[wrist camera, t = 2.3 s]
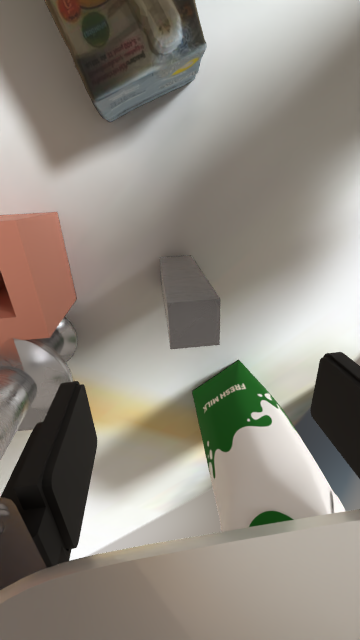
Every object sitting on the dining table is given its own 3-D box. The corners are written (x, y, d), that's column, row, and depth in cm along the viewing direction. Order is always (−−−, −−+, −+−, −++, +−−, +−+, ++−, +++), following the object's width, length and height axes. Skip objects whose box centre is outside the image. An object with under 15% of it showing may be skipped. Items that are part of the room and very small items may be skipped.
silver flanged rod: (80, 293, 27) (-2, 412, 12) (97, 369, 30) (49, 527, 16) (-15, 301, 26) (-223, 435, 11) (14, 377, 30) (-114, 550, 15)
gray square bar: (190, 255, 26) (220, 298, 15) (191, 285, 27) (219, 344, 17) (159, 257, 26) (167, 302, 15) (162, 287, 27) (170, 349, 16)
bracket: (57, 212, 23) (15, 220, 16) (82, 322, 28) (58, 367, 21) (-41, 217, 23) (-129, 228, 16) (1, 329, 27) (-53, 378, 20)
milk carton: (241, 349, 31) (366, 562, 13) (277, 395, 35) (414, 612, 17) (181, 390, 33) (220, 629, 15) (221, 430, 36) (292, 661, 18)
